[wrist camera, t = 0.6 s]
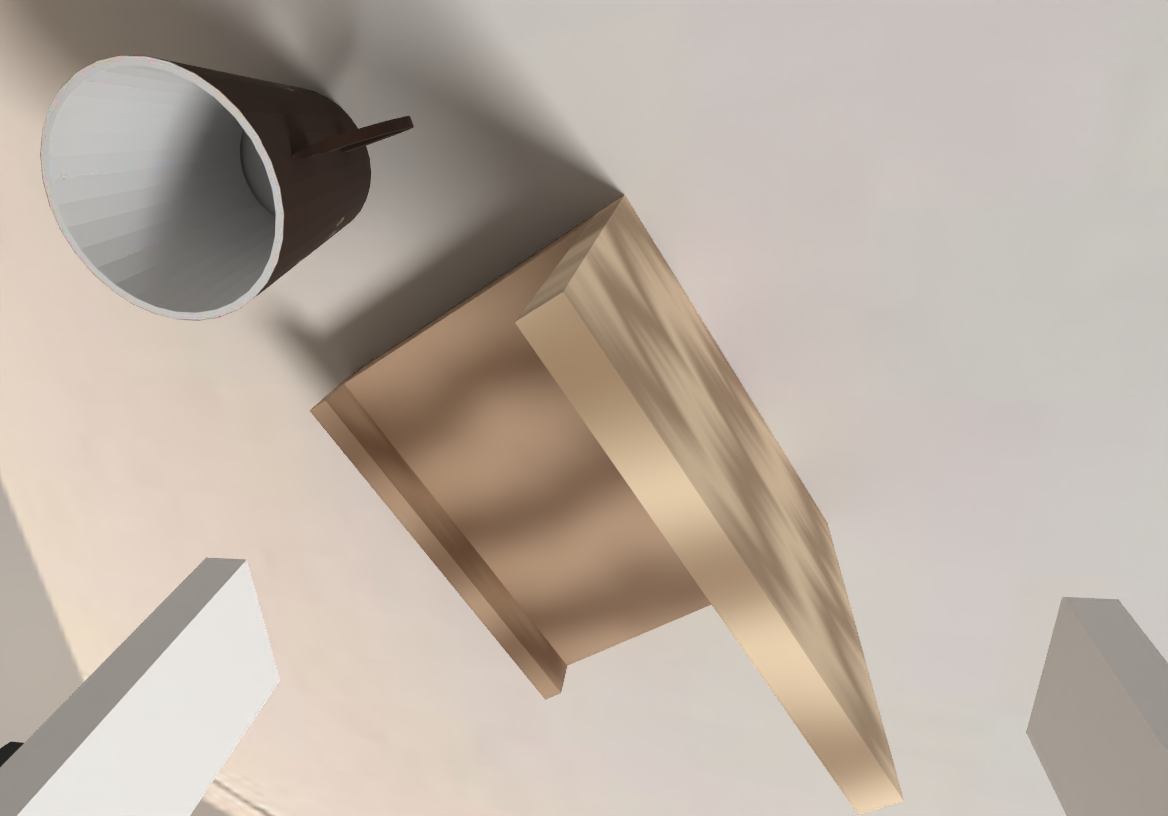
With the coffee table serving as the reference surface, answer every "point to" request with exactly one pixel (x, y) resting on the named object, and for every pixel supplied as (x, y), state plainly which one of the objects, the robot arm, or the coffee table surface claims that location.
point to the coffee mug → (198, 180)
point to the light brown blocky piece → (612, 484)
